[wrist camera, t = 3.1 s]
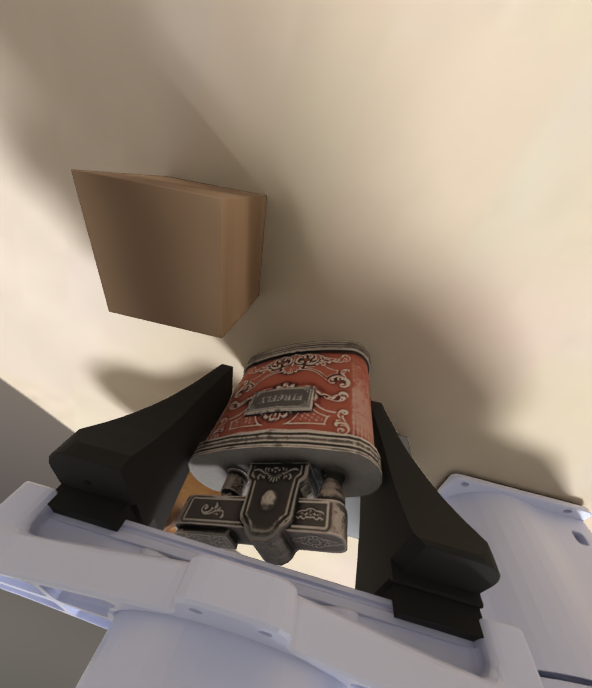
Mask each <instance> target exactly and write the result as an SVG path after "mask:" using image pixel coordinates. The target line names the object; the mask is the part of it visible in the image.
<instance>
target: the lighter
mask: <svg viewBox="0 0 592 688" xmlns="http://www.w3.org/2000/svg"><path fill="white" fill-rule="evenodd" d="M370 373H371V364H370V357H369V354H368V351H367V350H366V349H365V348H364V347H363V346H362V345H360V344H358V343H356V342H351V341H319V342H308V343H298V344H293V345H289V346H285V347H280V348H276V349H273V350H270V351H267V352H264V353H261V354H258V355H256V356H254V357H252V358H251V359H250V361H249V362H248V364H247V366H246V367H245V369H244V375H243V376H244V377H243V378H242V380H241V382H240V383H239V385H238V387H237V389H236V390H235V392H234V394H233V395H232V397H231V399H230V401H229V402H228V404H227V406H226V407H225V409H224V411H223V413H222V414H221V416H220V418H219V419H218V421H217V423H216V425H215V426H214V428H213V430H212V431H211V433H210V435H209V437H208V438H207V440H205V441H203V442H201V443H200V444H199V445H198V447H197V449H196V450H195V452H194V454H193V455H192V457H191V459H190V460H189V462H188V465H189V470H190V471H191V473H192V475H193V476H194V477H195V478H196V479H197V480H198V481H199V482H200V483H202V484H203V485H205V486H206V487H208V488H210V489H212V490H215V491H219V492H221V494H222V496H221V495H190V496H189V497H188V499H187V501H186V503H185V505H184V506H183V508H182V510H181V512H180V514H179V516H178V518H177V520H176V521H175V523H174V526H175V528H176V529H177V531H176V533H175V535H178V536H182V537H185V538H188V539H192V540H195V541H198V542H202V543H205V544H208V545H211V546H215V547H218V548H228V549H236V548H237V545H238V544H247V545H253V546H254V547H255V548H256V550H257V551H258V553H259V554H260V555H261V557H262V558H263V560H265V561H266V562H268V563H271V564H274V565H280V566H282V565H284V564H286V563H288V562H289V561H290V560H291V559H292V558H293V556H294V555H295V553H296V552H297V551H298V550H309V551H319V552H330V553H343V552H346V551H347V529H348V513H347V509H346V507H345V498H347V497H359V496H365V495H369V494H372V493H373V492H375V491H376V490H378V488H379V487H380V485H381V484H382V469H381V459H380V455H379V453H378V451H377V449H376V448H375V446H374V435H373V423H372V412H371V400H370V389H369V375H370ZM242 495H243V496H242Z"/></svg>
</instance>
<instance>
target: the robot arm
mask: <svg viewBox="0 0 592 688" xmlns="http://www.w3.org/2000/svg"><path fill="white" fill-rule="evenodd" d="M232 378H233V367H232V366H228V365H224V364H222V365H220V366H219V367H217V368H216V369H214V370H213V371H211V372H210V373H208V374H207V375H205V376H204V377H202V378H201V379H199V380H198V381H196V382H195V383H193V384H192V385H190V386H188V387H187V388H185V389H183V390H181V391H180V392H178V393H176V394H174V395H173V396H171V397H169V398H167V399H165V400H163V401H161V402H159V403H156V404H154V405H152V406H149V407H147V408H145V409H142V410H140V411H137V412H135V413H132V414H129V415H126V416H124V417H121V418H117V419H114V420H111V421H108V422H105V423H101V424H97V425H93V426H90V427H86V428H82V429H79V430H78V431H77V432H76V433H74V434H73V435H72V436H71V437H70V438H69V439H67V440H66V441H65V442H64V443H63V444H62V445H61V446H60V447H58V448H57V449H56V450H55V451H54V452H53V453H52V454H51V455H50V456H49V464H50V466H51V468H52V470H53V471H54V473H55V474H56V476H57V478H58V479H59V481H60V482H61V485H60V486H59V487H58V488H57V489H56V490H55V489H52V488H50V487H47V486H43V485H40V484H37V483H33V482H30V481H28V482H25V483H24V484H23V485H22V486H20V487H19V488H18V489H17V490H16V491H15V492H14V493H13V494H11V495H10V496H9V497H8V498H7V499H6V500H5V501H4V502H3V503H2V504H0V589H3V590H6V591H9V592H12V593H14V594H17V595H20V596H23V597H25V598H28V599H31V600H33V601H36V602H38V603H41V604H44V605H46V606H49V607H51V608H54V609H56V610H59V611H62V612H64V613H67V614H69V615H72V616H74V617H77V618H79V619H82V620H85V621H87V622H89V623H92V624H95V625H97V626H100V627H102V628H105V629H107V632H106V634H105V636H104V637H103V639H102V641H101V643H100V645H99V647H98V648H97V650H96V652H95V654H94V656H93V657H92V659H91V661H90V663H89V664H88V666H87V668H86V670H85V672H84V673H83V675H82V677H81V679H80V681H79V683H78V684H77V686H76V688H592V533H591V532H590V530H589V529H588V527H587V526H586V525H585V523H584V522H583V521H584V520H586V519H588V518H589V517H590V516H591V513H590V511H589V510H588V509H587V508H586V507H583V506H580V505H576V504H572V503H568V502H564V501H561V500H557V499H553V498H549V497H545V496H542V495H538V494H534V493H530V492H526V491H523V490H519V489H515V488H511V487H507V486H503V485H500V484H496V483H492V482H488V481H484V480H481V479H477V478H473V477H469V476H465V475H462V474H457V473H456V474H451V475H450V476H449V477H448V478H447V479H446V481H445V482H444V483H443V484H442V485H441V486H440V488H439V489H438V490H436V489H435V488H434V486H433V485H432V484H431V483H430V482H429V480H428V479H427V478H426V477H425V475H424V474H423V473H422V471H421V470H420V469H419V467H418V466H417V464H416V463H415V462H414V460H413V459H412V457H411V456H410V454H409V453H408V451H407V449H406V448H405V446H404V445H403V443H402V441H401V439H400V438H399V436H398V434H397V432H396V431H395V429H394V427H393V425H392V423H391V421H390V419H389V417H388V415H387V413H386V411H385V409H384V407H383V405H382V404H381V403H378V402H374V401H371V412H372V423H373V435H374V446H375V448H376V449H377V451H378V453H379V455H380V459H381V469H382V484H381V485H380V487H379V488H378V490H376V491H375V492H373V493H372V494H369V495H365V496H360V524H359V543H358V559H357V572H356V585H355V589H353V588H350V587H347V586H343V585H340V584H337V583H334V582H330V581H327V580H324V579H320V578H317V577H314V576H310V575H307V574H304V573H301V572H297V571H294V570H291V569H287V568H284V567H281V566H277V565H274V564H271V563H268V562H264V561H261V560H258V559H254V558H251V557H248V556H244V555H241V554H238V553H234V552H231V551H228V550H225V549H221V548H218V547H215V546H211V545H208V544H205V543H202V542H198V541H195V540H192V539H188V538H185V537H182V536H178V535H175V534H172V533H169V532H165V531H163V530H164V527H165V525H166V523H167V520H168V518H169V516H170V513H171V511H172V508H173V506H174V504H175V502H176V499H177V497H178V495H179V493H180V491H181V488H182V486H183V484H184V482H185V480H186V478H187V476H188V473H189V471H190V470H189V465H188V462H189V460H190V459H191V457H192V455H193V454H194V452H195V450H196V449H197V447H198V445H199V444H200V443H201V442H203V441H205V440H206V439H207V438H208V436H209V434H210V433H211V431H212V430H213V428H214V426H215V425H216V423H217V421H218V419H219V418H220V416H221V414H222V413H223V411H224V409H225V407H226V406H227V404H228V402H229V400H230V397H231V395H232Z"/></svg>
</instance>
